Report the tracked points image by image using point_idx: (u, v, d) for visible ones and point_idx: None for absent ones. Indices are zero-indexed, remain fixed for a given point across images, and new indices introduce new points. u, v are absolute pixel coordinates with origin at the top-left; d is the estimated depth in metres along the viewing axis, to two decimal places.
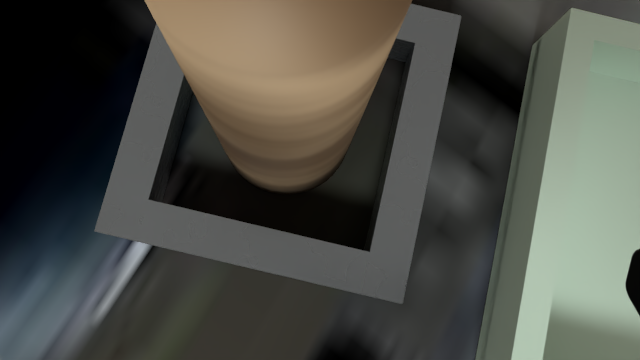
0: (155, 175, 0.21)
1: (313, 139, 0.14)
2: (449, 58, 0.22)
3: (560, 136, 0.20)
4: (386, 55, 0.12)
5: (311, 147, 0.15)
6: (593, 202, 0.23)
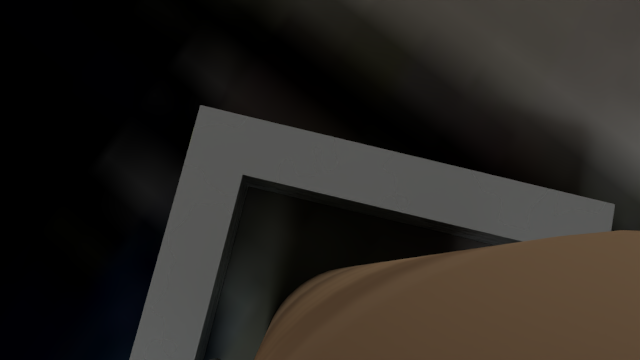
0: None
1: None
2: None
3: None
4: None
5: None
6: None
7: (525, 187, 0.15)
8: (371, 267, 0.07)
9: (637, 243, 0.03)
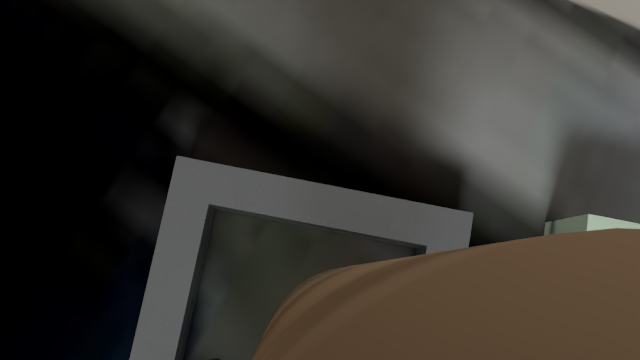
0: None
1: None
2: None
3: None
4: None
5: None
6: None
7: (409, 204, 0.22)
8: (369, 266, 0.07)
9: (632, 241, 0.03)
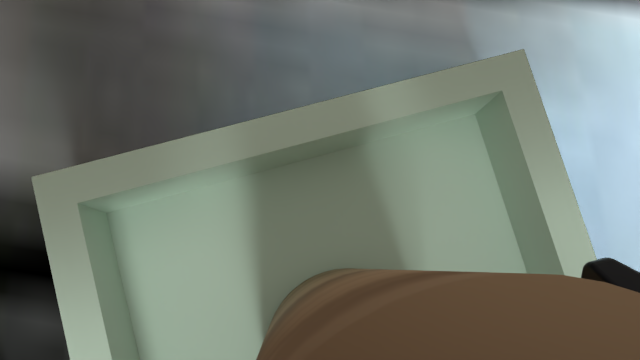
0: None
1: None
2: None
3: (84, 351, 0.15)
4: None
5: None
6: None
7: None
8: (357, 279, 0.08)
9: (526, 282, 0.04)
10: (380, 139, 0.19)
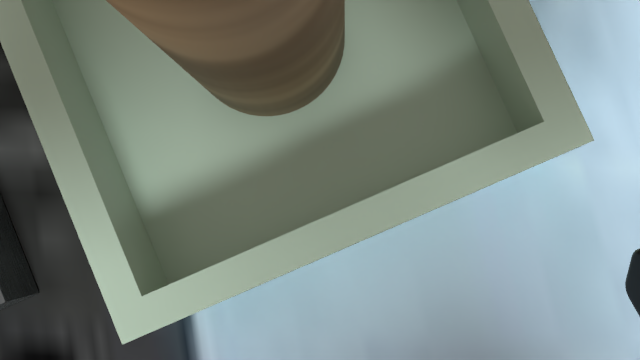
0: None
1: (259, 17, 0.10)
2: None
3: (12, 36, 0.17)
4: None
5: (265, 33, 0.11)
6: (145, 63, 0.19)
7: None
8: None
9: None
10: None
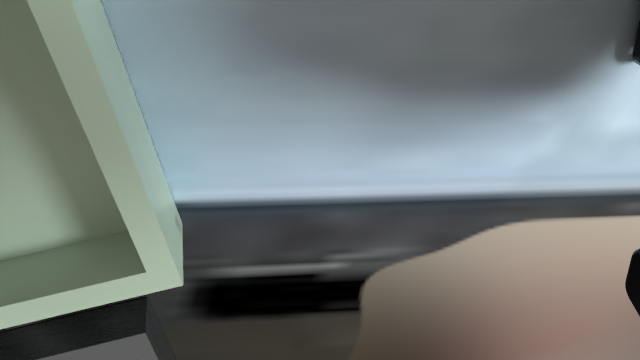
0: None
1: None
2: None
3: None
4: None
5: None
6: None
7: None
8: None
9: None
10: None
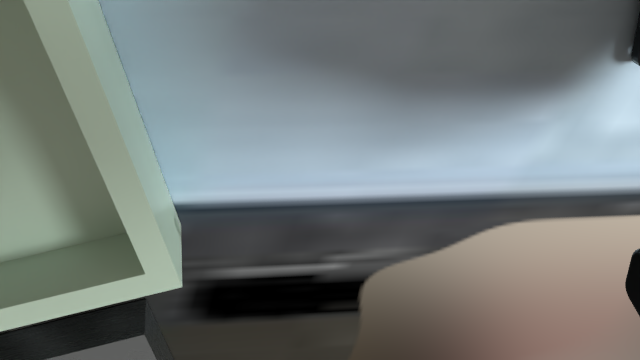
0: None
1: None
2: None
3: None
4: None
5: None
6: None
7: None
8: None
9: None
10: None
